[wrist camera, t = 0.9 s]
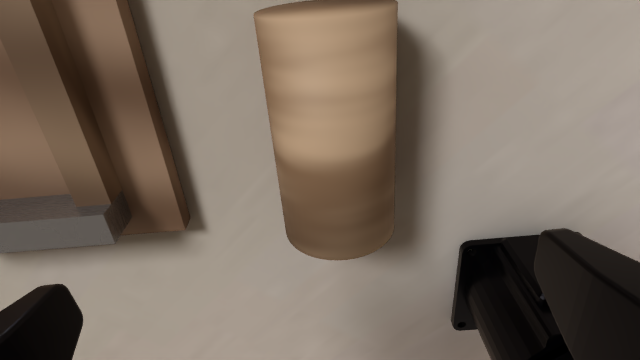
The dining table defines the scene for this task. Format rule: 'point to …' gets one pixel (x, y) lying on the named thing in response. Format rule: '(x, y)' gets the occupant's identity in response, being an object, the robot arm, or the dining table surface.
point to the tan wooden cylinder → (333, 120)
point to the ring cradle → (80, 129)
